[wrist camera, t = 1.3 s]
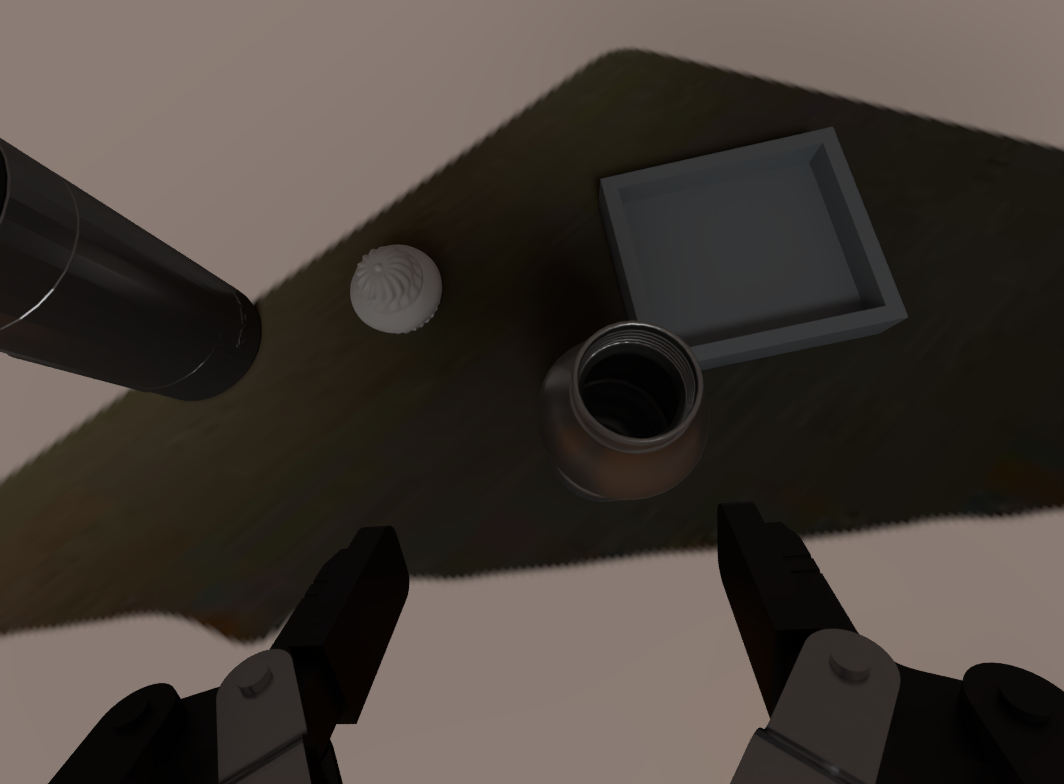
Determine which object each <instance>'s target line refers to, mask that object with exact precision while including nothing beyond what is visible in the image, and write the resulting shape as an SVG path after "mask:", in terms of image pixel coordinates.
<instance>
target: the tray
mask: <svg viewBox="0 0 1064 784" xmlns="http://www.w3.org/2000/svg"><path fill="white" fill-rule="evenodd" d="M598 205H599V209H600V213H601V217H602V221H603V225H604V228H605V232H606V236H607V240H608V244H609V248H610V252H611V256H612V260H613V263H614V267H615V271H616V275H617V279H618V283H619V287H620V291H621V295H622V298H623V302H624V306H625V310H626V314H627V318H628V321H630V320H635V321H646V322H650V323H654V324H658V325H660V326H662V327H664V328H667V329H669V330H670V331H672V332H673V333H675V334H676V335H678V336H679V337H680V338H681V339H682V340H683V341H684V342H685V343H686V344H687V345H688V346H689V347H690V349H691V350H692V352H693V353H694V354H695V356H696V358H697V361H698V363H699V365H700V368H701V371H702V370H707V369H712V368H717V367H721V366H726V365H731V364H736V363H740V362H745V361H750V360H755V359H760V358H764V357H769V356H774V355H779V354H783V353H788V352H793V351H798V350H803V349H807V348H812V347H817V346H822V345H826V344H831V343H836V342H841V341H845V340H850V339H855V338H860V337H865V336H869V335H874V334H879V333H881V332H883V331H884V330H886V329H888V328H890V327H892V326H893V325H895V324H897V323H899V322H901V321H902V320H904V319H906V318H908V315H907V313H906V310H905V308H904V305H903V303H902V300H901V298H900V295H899V293H898V290H897V288H896V285H895V283H894V280H893V277H892V275H891V272H890V270H889V267H888V265H887V262H886V260H885V257H884V255H883V252H882V250H881V247H880V245H879V242H878V240H877V237H876V235H875V232H874V229H873V227H872V224H871V222H870V219H869V217H868V214H867V212H866V209H865V207H864V204H863V202H862V199H861V197H860V194H859V192H858V189H857V187H856V184H855V181H854V179H853V176H852V174H851V171H850V169H849V166H848V164H847V161H846V159H845V156H844V154H843V151H842V149H841V146H840V144H839V141H838V139H837V136H836V134H835V131H834V128H833V127H830V128H825V129H821V130H816V131H812V132H807V133H803V134H798V135H794V136H790V137H785V138H781V139H776V140H772V141H767V142H763V143H758V144H754V145H749V146H745V147H740V148H736V149H732V150H727V151H723V152H718V153H714V154H709V155H705V156H700V157H696V158H691V159H687V160H682V161H678V162H673V163H669V164H665V165H660V166H656V167H651V168H647V169H642V170H638V171H633V172H629V173H624V174H620V175H615V176H611V177H607V178H602V179H600V190H599V202H598Z"/></svg>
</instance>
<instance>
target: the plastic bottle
mask: <svg viewBox="0 0 1064 784" xmlns="http://www.w3.org/2000/svg"><path fill="white" fill-rule="evenodd" d="M537 423H538V430H539V434H540V436H541V439H542V442H543V445H544V448H545V449H546V451H547V453H548V455H549V460H550V463H551V465H552V468H553V470H554V472H555V473H556V475H557V477H558V478H559V479H560V481H561V482H562V483H563V484H564V485H565V486H566V487H567V488H568V489H570V490H571V491H572V492H574V493H575V494H577V495H579V496H581V497H583V498H586V499H590V500H593V501H600V502H610V501H617V500H620V499H623V500H634V499H644V498H648V497H651V496H655V495H658V494H661V493H663V492H665V491H667V490H669V489H670V488H672V487H674V486H676V485H677V484H679V483H680V482H681V481H682V480H683V479H684V478H685V477H686V476H688V475H689V474H690V472H691V471H692V470H693V468H694V467H695V466H696V464H697V463H698V461H699V460H700V457H701V455H702V453H703V451H704V448H705V446H706V442H707V437H708V431H709V412H708V406H707V401H706V397H705V393H704V391H703V377H702V372H701V368H700V365H699V363H698V361H697V358H696V356H695V354H694V353H693V352H692V350H691V349H690V347H689V346H688V345H687V344H686V343H685V342H684V341H683V340H682V339H681V338H680V337H679V336H678V335H676V334H675V333H673V332H672V331H670V330H669V329H667V328H664V327H662V326H660V325H658V324H654V323H650V322H646V321H635V320H630V321H622V322H617V323H614V324H611V325H608V326H606V327H604V328H602V329H600V330H599V331H597V332H596V333H595V334H593V335H592V336H591V337H590V338H589V339H588V340H586V341H584V342H582V343H580V344H578V345H577V346H575V347H573V348H571V349H569V350H568V351H567V352H566V353H565V354H563V355H562V356H561V357H560V358H559V359H558V360H557V361H556V362H555V363H554V365H553V366H552V367H551V369H550V370H549V371H548V373H547V375H546V377H545V379H544V381H543V383H542V385H541V388H540V392H539V396H538V400H537Z"/></svg>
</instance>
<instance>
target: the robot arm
mask: <svg viewBox="0 0 1064 784" xmlns="http://www.w3.org/2000/svg"><path fill="white" fill-rule="evenodd" d="M259 341H260V323H259V318H258V314H257V312H256V310H255V308H254V306H253V304H252V303H251V302H250V300H249V299H248V298H247V297H246V296H245V295H244V294H242V293H241V292H240V291H239V290H237V289H235V288H234V287H233V286H231V285H229V284H228V283H226V282H225V281H223V280H221V279H220V278H218V277H217V276H215V275H214V274H212V273H211V272H209V271H208V270H206V269H205V268H203V267H202V266H200V265H199V264H197V263H196V262H194V261H192V260H191V259H189V258H188V257H186V256H185V255H183V254H181V253H180V252H178V251H177V250H175V249H174V248H172V247H171V246H169V245H167V244H166V243H164V242H163V241H161V240H159V239H158V238H156V237H155V236H153V235H151V234H150V233H149V232H147V231H145V230H144V229H142V228H141V227H139V226H138V225H136V224H134V223H133V222H131V221H130V220H128V219H127V218H125V217H124V216H122V215H120V214H119V213H117V212H116V211H114V210H113V209H111V208H110V207H108V206H106V205H105V204H103V203H102V202H100V201H98V200H97V199H95V198H94V197H92V196H91V195H89V194H88V193H86V192H84V191H83V190H81V189H80V188H78V187H77V186H75V185H73V184H72V183H70V182H69V181H67V180H66V179H64V178H62V177H61V176H59V175H58V174H56V173H55V172H53V171H51V170H50V169H48V168H47V167H45V166H43V165H42V164H40V163H39V162H37V161H36V160H34V159H32V158H31V157H29V156H28V155H26V154H25V153H23V152H21V151H20V150H18V149H17V148H15V147H14V146H12V145H11V144H9V143H7V142H6V141H4V140H3V139H1V138H0V352H3V353H6V354H8V355H9V356H11V357H14V358H17V359H21V360H25V361H29V362H33V363H37V364H41V365H44V366H48V367H52V368H55V369H59V370H63V371H67V372H71V373H74V374H78V375H82V376H86V377H90V378H93V379H97V380H101V381H105V382H109V383H113V384H116V385H120V386H124V387H128V388H131V389H135V390H139V391H143V392H152V393H156V394H160V395H164V396H167V397H171V398H175V399H179V400H184V401H198V400H203V399H208V398H211V397H213V396H216V395H218V394H220V393H222V392H224V391H225V390H227V389H228V388H230V387H231V386H233V385H234V384H235V383H236V382H237V381H238V380H239V379H240V378H241V377H242V376H243V375H244V374H245V372H246V371H247V370H248V368H249V367H250V365H251V364H252V362H253V359H254V357H255V355H256V353H257V350H258V345H259ZM717 520H718V564H719V569H720V574H721V579H722V583H723V586H724V588H725V591H726V594H727V597H728V600H729V603H730V605H731V608H732V611H733V614H734V617H735V620H736V623H737V626H738V628H739V631H740V634H741V637H742V640H743V643H744V645H745V648H746V651H747V654H748V657H749V660H750V662H751V665H752V668H753V671H754V674H755V677H756V680H757V683H758V685H759V688H760V691H761V694H762V697H763V700H764V703H765V705H766V708H767V711H768V714H769V717H770V721H769V723H768V725H767V727H766V728H765V729H763V728H758V729H757V730H756V731H755V733H754V734H753V736H752V738H751V740H750V742H749V744H748V746H747V748H746V750H745V753H744V755H743V757H742V759H741V761H740V763H739V766H738V768H737V770H736V772H735V774H734V776H733V778H732V781H731V783H730V784H1064V691H1062V690H1061V689H1059V688H1058V687H1057V686H1055V685H1054V684H1052V683H1050V682H1049V681H1047V680H1046V679H1044V678H1042V677H1040V676H1038V675H1036V674H1034V673H1032V672H1029V671H1026V670H1024V669H1022V668H1018V667H1015V666H1012V665H1007V664H1002V663H981V664H977V665H975V666H973V667H971V668H970V669H968V670H967V671H966V673H965V675H964V677H963V681H962V680H958V679H954V678H949V677H945V676H940V675H936V674H932V673H927V672H923V671H919V670H915V669H912V668H908V667H906V666H903V665H900V664H898V663H896V662H894V661H893V660H892V658H891V657H890V656H889V654H888V653H887V652H886V651H885V650H884V649H882V648H881V647H880V646H879V645H877V644H876V643H875V642H873V641H871V640H870V639H868V638H866V637H864V636H862V635H860V634H859V633H858V632H857V631H856V629H855V627H854V626H853V624H852V622H851V621H850V619H849V617H848V616H847V614H846V612H845V611H844V609H843V608H842V606H841V604H840V602H839V601H838V599H837V597H836V596H835V594H834V593H833V591H832V589H831V588H830V586H829V584H828V583H827V581H826V579H825V578H824V576H823V574H821V573H820V569H819V568H818V566H817V565H816V563H815V561H814V559H813V558H811V555H810V553H809V551H808V549H807V548H806V546H805V544H804V543H803V541H802V540H801V538H800V537H799V536H798V535H797V534H796V533H794V532H793V531H792V530H790V529H789V528H788V527H787V526H785V525H784V524H783V523H781V522H774V523H765V522H764V521H763V519H762V517H761V515H760V513H759V511H758V509H757V507H756V505H755V504H754V503H753V502H752V501H748V502H734V503H719V505H718V510H717ZM408 591H409V574H408V570H407V566H406V563H405V560H404V557H403V554H402V550H401V547H400V544H399V541H398V538H397V535H396V532H395V530H394V528H393V527H392V526H378V527H364V528H361V529H360V530H359V531H358V532H357V534H356V535H355V537H354V539H353V540H352V542H351V544H350V545H349V547H348V549H341V550H340V551H339V552H338V553H337V554H335V555H334V556H333V557H332V558H331V559H330V560H329V561H327V562H326V563H325V564H324V566H323V567H322V569H321V570H320V572H319V573H318V575H317V576H316V578H315V580H314V583H313V584H311V586H310V587H309V589H308V590H307V592H306V594H305V598H302V600H301V601H300V603H299V604H298V606H297V607H296V609H295V611H294V612H293V614H292V615H291V617H290V618H289V620H288V621H287V623H286V625H285V626H284V628H283V629H282V631H281V632H280V634H279V635H278V637H277V639H276V640H275V642H274V643H273V645H272V646H271V648H270V649H269V650H266V651H262V652H259V653H257V654H255V655H253V656H251V657H249V658H247V659H246V660H244V661H243V662H242V663H240V664H239V665H238V666H237V667H235V668H234V669H233V670H232V671H231V672H230V673H229V674H228V676H227V677H226V678H225V679H224V681H223V682H222V684H221V686H220V687H217V688H214V689H211V690H208V691H205V692H201V693H198V694H195V695H192V696H189V697H186V698H183V699H180V697H179V695H178V694H177V692H176V690H175V689H174V688H173V686H171V685H169V684H166V683H158V684H153V685H149V686H146V687H144V688H141V689H139V690H137V691H135V692H133V693H132V694H130V695H128V696H127V697H125V698H124V699H122V700H121V701H120V702H118V703H117V704H116V705H115V706H113V707H112V708H111V709H110V710H109V711H108V712H107V713H106V714H105V715H104V716H103V717H102V718H101V720H100V721H99V722H98V723H97V724H96V726H95V727H94V728H93V729H92V730H91V732H90V733H89V734H88V735H87V737H86V738H85V739H84V740H83V741H82V743H81V744H80V745H79V746H78V748H77V749H76V750H75V751H74V753H73V754H72V755H71V756H70V758H69V759H68V760H67V761H66V762H65V764H64V765H63V766H62V767H61V768H60V770H59V771H58V772H57V773H56V775H55V776H54V777H53V778H52V779H51V781H50V782H49V783H48V784H343V783H342V779H341V775H340V771H339V767H338V764H337V759H336V755H335V751H334V748H333V745H332V742H331V740H330V737H331V735H332V733H333V731H334V728H335V726H336V724H357V721H358V719H359V716H360V714H361V711H362V709H363V706H364V704H365V701H366V698H367V696H368V694H369V691H370V689H371V686H372V684H373V681H374V679H375V676H376V674H377V671H378V669H379V666H380V664H381V661H382V659H383V656H384V654H385V651H386V648H387V646H388V644H389V641H390V639H391V636H392V634H393V631H394V629H395V626H396V624H397V621H398V619H399V616H400V614H401V611H402V609H403V606H404V604H405V601H406V599H407V596H408Z"/></svg>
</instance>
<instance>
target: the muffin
mask: <svg viewBox="0 0 1064 784" xmlns="http://www.w3.org/2000/svg"><path fill="white" fill-rule="evenodd" d="M357 265H358V267H357V269H356V271H355V273H354V276H353V278H352V282H351V287H350V297H351V302H352V305H353V308H354V310H355V311H356V313H357V315H358V316H359V317H360V319H361V320H362V321H363V322H365V323H366V324H367V325H369V326H370V327H372V328H374V329H377V330H379V331H383V332H388V333H397V334H400V333H403V332H404V333H405V334H406V333H408V332H410V331H412V330H414V331H416V330H417V329H418V328H420V327H423V326H424V324H425V323H428V322H429V320H430V319H431V318H432V317H433V316H434V313H435V312H436V311H437V310H438V307H437V306H438V305H439V303H440V298H441V294H442V281H441V276H440V273H439V270H438V268H437V266H436V265H435V263H434V262H433V261H432V259H431V258H430V257H429V256H427V255H426V254H425V253H423V252H422V251H420V250H418V249H416V248H414V247H411V246H407V245H398V244H397V245H388V246H381V247H379V248H378V249H371V250H370V252H369V255H363V260H362V261H361V262H360V263H358V264H357Z"/></svg>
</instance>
